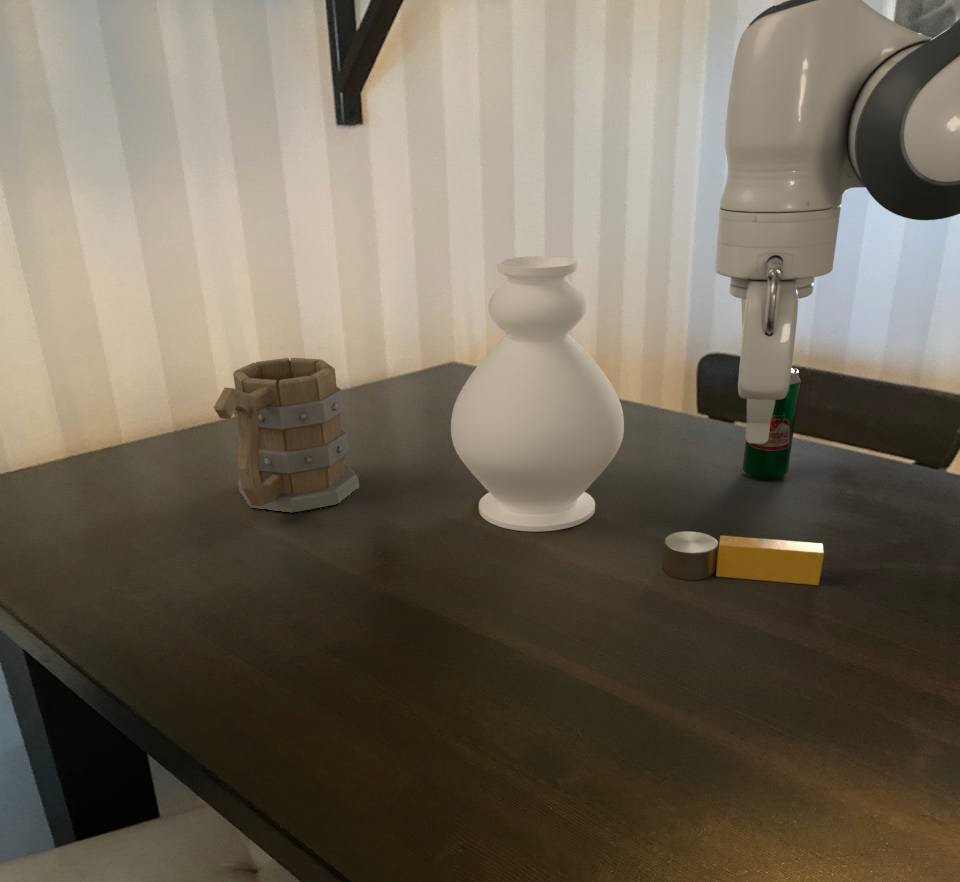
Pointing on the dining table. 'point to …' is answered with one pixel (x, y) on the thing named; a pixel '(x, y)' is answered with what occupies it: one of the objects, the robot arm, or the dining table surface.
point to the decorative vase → (537, 405)
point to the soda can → (775, 438)
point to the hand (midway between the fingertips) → (756, 423)
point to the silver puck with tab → (742, 558)
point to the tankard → (289, 434)
